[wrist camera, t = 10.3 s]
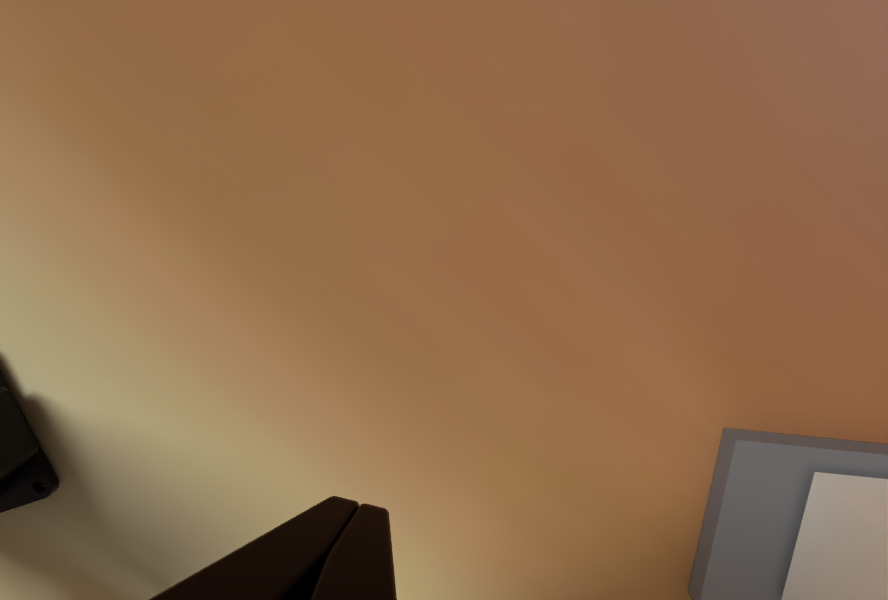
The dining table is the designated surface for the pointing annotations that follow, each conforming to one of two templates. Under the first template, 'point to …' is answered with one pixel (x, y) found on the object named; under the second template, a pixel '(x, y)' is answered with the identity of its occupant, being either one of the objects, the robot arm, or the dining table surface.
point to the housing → (766, 508)
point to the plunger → (841, 541)
